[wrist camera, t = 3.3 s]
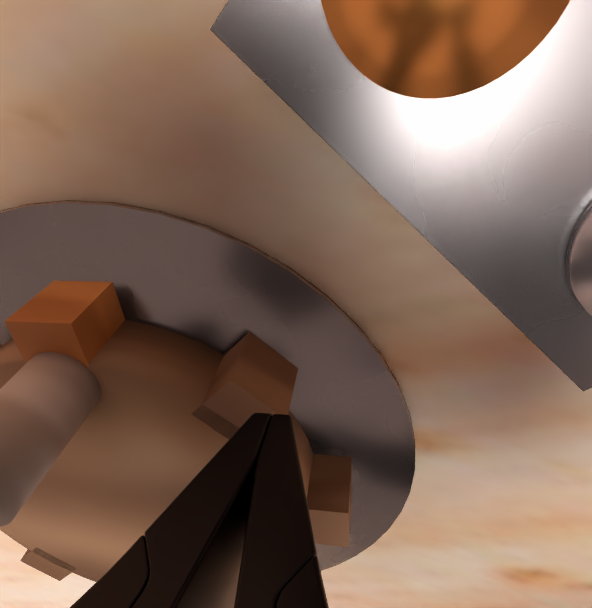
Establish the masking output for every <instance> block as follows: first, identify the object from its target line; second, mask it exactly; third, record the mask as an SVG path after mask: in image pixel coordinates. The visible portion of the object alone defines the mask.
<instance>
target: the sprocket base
mask: <svg viewBox="0 0 592 608" xmlns="http://www.w3.org/2000/svg"><path fill="white" fill-rule="evenodd" d="M53 281H103V282H113V285H114V288H115V291H116V294H117V297H118V300H119V303H120V306H121V309H122V312H123V315H124V318H125V320H129V321H134V322H139V323H144V324H149V325H152V326H156V327H159V328H162V329H165V330H169V331H172V332H175V333H178V334H180V335H183V336H185V337H188V338H190V339H192V340H195V341H197V342H200V343H202V344H204V345H206V346H208V347H210V348H212V349H213V350H215V351H217V352H219V353H221V354H223V355H225V354H226V353H227V352H228V351H229V350H230V349H231V348H232V347H234V346H235V345H236V344H237V343H238V342H239V341H240V340H241V339H242V338H243V337H244V336H246V335H247V334H248V333H249V332H250V331H251V332H252V333H253V334H254V335H256V336H257V337H258V338H260V339H261V340H262V341H264V342H265V343H266V344H267V345H269V346H270V347H271V348H273V349H274V350H275V351H276V352H278V353H279V354H280V355H282V356H283V357H284V358H286V359H287V360H288V361H289V362H291V363H292V364H293V365H295V366H296V367H297V368H298V372H297V376H296V381H295V385H294V390H293V394H292V399H291V403H290V408H289V410H290V411H291V413H292V414H293V415H294V417H295V418H296V419H297V421H298V422H299V424H300V426H301V427H302V429H303V431H304V433H305V435H306V436H307V438H308V441H309V443H310V446H311V449H312V452H313V454H322V455H335V456H347V457H352V498H351V517H350V536H349V547H340V546H331V545H322V544H315V545H316V550H317V557H318V560H319V565H320V570H324V569H327V568H330V567H333V566H335V565H338V564H340V563H342V562H344V561H346V560H348V559H350V558H352V557H354V556H356V555H357V554H359V553H360V552H362V551H363V550H365V549H366V548H368V547H369V546H371V545H372V544H373V543H374V542H376V541H377V540H378V539H379V538H380V537H381V536H382V535H383V534H384V533H385V532H386V531H387V530H388V529H389V528H390V526H391V525H392V524H393V522H394V521H395V519H396V518H397V517H398V515H399V514H400V512H401V511H402V508H403V506H404V504H405V502H406V500H407V497H408V495H409V493H410V489H411V485H412V480H413V476H414V471H415V439H414V434H413V429H412V424H411V418H410V413H409V410H408V408H407V405H406V403H405V400H404V397H403V395H402V392H401V390H400V387H399V384H398V383H397V381H396V379H395V378H394V376H393V374H392V372H391V371H390V369H389V367H388V366H387V364H386V362H385V360H384V359H383V357H382V355H381V354H380V353H379V351H378V350H377V349H376V348H375V346H374V345H373V344H372V343H371V341H370V340H369V339H368V338H367V336H366V335H365V334H364V333H363V331H362V330H361V329H360V328H359V326H358V325H357V324H356V323H355V322H354V321H353V320H352V319H351V318H350V317H349V316H348V315H347V314H346V313H344V312H343V311H342V310H341V309H340V308H339V307H338V306H337V305H336V304H335V303H334V302H333V301H332V300H331V299H330V298H329V297H328V296H327V295H325V294H324V293H323V292H321V291H320V290H319V289H317V288H316V287H315V286H313V285H312V284H311V283H309V282H308V281H307V280H305V279H304V278H303V277H301V276H300V275H299V274H297V273H296V272H295V271H293V270H292V269H291V268H289V267H287V266H285V265H284V264H282V263H280V262H279V261H277V260H275V259H273V258H272V257H270V256H268V255H266V254H265V253H263V252H261V251H260V250H258V249H256V248H254V247H253V246H251V245H249V244H247V243H244V242H242V241H240V240H238V239H235V238H233V237H231V236H229V235H226V234H224V233H222V232H219V231H217V230H215V229H213V228H210V227H208V226H206V225H202V224H199V223H196V222H193V221H189V220H186V219H183V218H180V217H176V216H173V215H170V214H167V213H164V212H160V211H155V210H150V209H144V208H139V207H133V206H128V205H122V204H117V203H106V202H87V201H59V202H48V203H37V204H28V205H24V206H20V207H16V208H12V209H8V210H4V211H0V344H1V345H4V344H5V343H6V342H7V341H9V340H10V339H11V338H12V335H11V333H10V332H9V330H8V328H7V326H6V324H5V322H4V321H5V320H6V319H8V318H9V317H10V316H11V315H13V314H14V313H15V312H16V311H17V310H19V309H20V308H21V307H22V306H23V305H25V304H26V303H27V302H28V301H30V300H31V299H32V298H33V297H34V296H36V295H37V294H38V293H39V292H41V291H42V290H43V289H44V288H45V287H47V286H48V285H49V284H50V283H51V282H53Z"/></svg>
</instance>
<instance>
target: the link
mask: <svg viewBox="0 0 592 608" xmlns="http://www.w3.org/2000/svg"><path fill="white" fill-rule="evenodd" d="M210 30H211V31H212V32H213V33H214V34H215V35H216V36H217V37H218V38H219V39H220V40H221V41H222V42H223V43H225V44H226V45H227V46H228V47H229V48H230V49H231V50H232V51H233V52H234V53H235V54H236V55H237V56H238V57H239V58H240V59H241V60H242V61H243V62H244V63H245V64H246V65H247V66H248V67H249V68H250V69H251V70H252V71H253V72H254V73H255V74H256V75H258V76H259V77H260V78H261V79H262V80H263V81H264V82H265V83H266V84H267V85H268V86H269V87H270V88H271V89H272V90H273V91H274V92H275V93H276V94H277V95H278V96H279V97H280V98H281V99H282V100H283V101H284V102H285V103H286V104H287V105H288V106H290V107H291V108H292V109H293V110H294V111H295V112H296V113H297V114H298V115H299V116H300V117H301V118H302V119H303V120H304V121H305V122H306V123H307V124H308V125H309V126H310V127H311V128H312V129H313V130H314V131H315V132H316V133H317V134H318V135H319V136H320V137H321V138H323V139H324V140H325V141H326V142H327V143H328V144H329V145H330V146H331V147H332V148H333V149H334V150H335V151H336V152H337V153H338V154H339V155H340V156H341V157H342V158H343V159H344V160H345V161H346V162H347V163H348V164H349V165H350V166H351V167H352V168H353V169H354V170H356V171H357V172H358V173H359V174H360V175H361V176H362V177H363V178H364V179H365V180H366V181H367V182H368V183H369V184H370V185H371V186H372V187H373V188H374V189H375V190H376V191H377V192H378V193H379V194H380V195H381V196H382V197H383V198H384V199H385V200H386V201H388V202H389V203H390V204H391V205H392V206H393V207H394V208H395V209H396V210H397V211H398V212H399V213H400V214H401V215H402V216H403V217H404V218H405V219H406V220H407V221H408V222H409V223H410V224H411V225H412V226H413V227H414V228H415V229H416V230H417V231H418V232H419V233H421V234H422V235H423V236H424V237H425V238H426V239H427V240H428V241H429V242H430V243H431V244H432V245H433V246H434V247H435V248H436V249H437V250H438V251H439V252H440V253H441V254H442V255H443V256H444V257H445V258H446V259H447V260H448V261H449V262H450V263H451V264H452V265H454V266H455V267H456V268H457V269H458V270H459V271H460V272H461V273H462V274H463V275H464V276H465V277H466V278H467V279H468V280H469V281H470V282H471V283H472V284H473V285H474V286H475V287H476V288H477V289H478V290H479V291H480V292H481V293H482V294H483V295H484V296H486V297H487V298H488V299H489V300H490V301H491V302H492V303H493V304H494V305H495V306H496V307H497V308H498V309H499V310H500V311H501V312H502V313H503V314H504V315H505V316H506V317H507V318H508V319H509V320H510V321H511V322H512V323H513V324H514V325H515V326H516V327H517V328H519V329H520V330H521V331H522V332H523V333H524V334H525V335H526V336H527V337H528V338H529V339H530V340H531V341H532V342H533V343H534V344H535V345H536V346H537V347H538V348H539V349H540V350H541V351H542V352H543V353H544V354H545V355H546V356H547V357H548V358H549V359H550V360H552V361H553V362H554V363H555V364H556V365H557V366H558V367H559V368H560V369H561V370H562V371H563V372H564V373H565V374H566V375H567V376H568V377H569V378H570V379H571V380H572V381H573V382H574V383H575V384H576V385H577V386H578V387H579V388H580V389H581V390H582V391H586V390H588V389H590V388H592V0H229V1H228V2H227V4H226V5H225V7H224V9H223V10H222V12H221V13H220V15H219V16H218V18H217V20H216V21H215V23H214V24H213V26H212V28H211V29H210Z"/></svg>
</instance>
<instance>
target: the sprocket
mask: <svg viewBox="0 0 592 608" xmlns="http://www.w3.org/2000/svg"><path fill="white" fill-rule="evenodd" d="M4 322H5V324H6V326H7V328H8V330H9V332H10V333H11V335H12V338H11V339H10V340H9V341H7V342H6V343H5V344H4V345H1V344H0V530H1V531H3V532H4V533H5V534H7V535H8V536H9V537H11V538H12V539H14V540H15V541H16V542H18V543H19V544H21V545H23V546H24V547H26V548H27V549H28V550H27V552H26V553H25V555H24V556H23V558H22V559H21V561H22V562H24V563H26V564H27V565H29V566H31V567H33V568H35V569H37V570H39V571H41V572H43V573H45V574H47V575H49V576H51V577H53V578H55V579H57V580H59V581H60V580H62V579H63V578H64V577H66V576H67V575H69V574H70V573H71V572H73V573H75V574H77V575H80V576H82V577H85V578H87V579H90V580H92V581H95V582H97V581H98V580H100V579H101V578H102V577H103V576H104V575H105V574H106V573H107V572H108V571H109V570H110V569H111V567H112V566H113V565H114V564H115V563H116V562H117V561H118V560H119V559H120V558H121V557H122V556H123V555H124V554H125V553H126V552H127V551H128V550H129V549H130V547H131V546H132V545H133V544H134V543H135V542H136V541H137V540H138V539H139V538H140V536H142V535H144V533H145V531H146V530H147V529H148V528H149V527H150V526H151V525H152V524H153V522H154V521H155V520H156V519H157V518H158V517H159V516H160V515H161V514H162V513H163V512H164V510H165V509H166V508H167V507H168V506H169V505H170V504H171V503H172V502H173V501H174V499H175V498H176V497H177V496H178V495H179V494H180V493H181V492H182V491H183V490H184V489H185V487H186V486H187V485H188V484H189V483H190V482H191V481H192V480H193V479H194V478H195V476H196V475H197V474H198V473H199V472H200V471H201V470H202V469H203V468H204V467H205V465H206V464H207V463H208V462H209V461H210V460H211V459H212V458H213V457H214V456H215V455H216V453H217V452H218V451H219V450H220V449H221V448H222V447H223V446H224V445H225V444H226V442H227V441H228V440H229V439H230V438H231V437H232V436H233V435H234V434H235V433H236V432H237V430H238V429H239V428H240V427H241V426H242V425H243V424H244V423H245V422H246V421H247V419H248V418H249V417H250V416H251V415H252V414H254V413H270V414H272V416H273V415H274V414H287V415H290V416H291V418H292V423H293V428H294V433H295V438H296V444H297V449H298V454H299V460H300V465H301V470H302V476H303V481H304V486H305V492H306V497H307V502H308V508H309V513H310V518H311V524H312V529H313V534H314V540H315V544H322V545H331V546H340V547H349V536H350V517H351V498H352V457H347V456H335V455H322V454H313V452H312V449H311V446H310V443H309V441H308V438H307V436H306V435H305V433H304V431H303V429H302V427H301V426H300V424H299V422H298V421H297V419H296V418H295V417H294V415H293V414H292V413H291V411H290V410H289V408H290V403H291V399H292V394H293V390H294V385H295V381H296V376H297V372H298V368H297V367H296V366H295V365H293V364H292V363H291V362H289V361H288V360H287V359H286V358H284V357H283V356H282V355H280V354H279V353H278V352H276V351H275V350H274V349H273V348H271V347H270V346H269V345H267V344H266V343H265V342H264V341H262V340H261V339H260V338H258V337H257V336H256V335H254V334H253V333H252V332H251V331H250V332H249V333H248V334H247V335H246V336H244V337H243V338H242V339H241V340H240V341H239V342H238V343H237V344H236V345H235V346H234V347H232V348H231V349H230V350H229V351H228V352H227V353H226V354H225V355H223V354H221V353H219V352H217V351H215V350H213V349H212V348H210V347H208V346H206V345H204V344H202V343H200V342H197V341H195V340H192V339H190V338H188V337H185V336H183V335H180V334H178V333H175V332H172V331H169V330H165V329H162V328H159V327H156V326H152V325H149V324H144V323H139V322H134V321H129V320H125V318H124V315H123V312H122V309H121V306H120V303H119V300H118V297H117V294H116V291H115V288H114V285H113V282H103V281H53V282H51V283H50V284H49V285H48V286H47V287H45V288H44V289H43V290H42V291H41V292H39V293H38V294H37V295H36V296H34V297H33V298H32V299H31V300H30V301H28V302H27V303H26V304H25V305H23V306H22V307H21V308H20V309H19V310H17V311H16V312H15V313H14V314H13V315H11V316H10V317H9V318H8V319H6V320H5V321H4ZM144 536H145V535H144Z"/></svg>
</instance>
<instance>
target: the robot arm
mask: <svg viewBox="0 0 592 608" xmlns="http://www.w3.org/2000/svg"><path fill="white" fill-rule="evenodd" d="M144 535H145V536H144ZM144 535H142V536H140V538H139V539H138V540H137V541H136V542H135V543H134V544H133V545H132V546H131V547H130V549H129V550H128V551H127V552H126V553H125V554H124V555H123V556H122V557H121V558H120V559H119V560H118V561H117V562H116V563H115V564H114V565H113V566H112V567H111V569H110V570H109V571H108V572H107V573H106V574H105V575H104V576H103V577H102V578H101V579H100V580H98V581H97V582H96V583H95V584H94V585H93V586H92V587H91V588H90V589H89V590H88V591H87V592H86V593H85V594H84V595H83V596H82V597H81V598H80V599H79V600H78V601H76V602H75V603H74V604H73V605H72V606H71V607H70V608H329V607H328V603H327V598H326V594H325V589H324V585H323V580H322V576H321V570H320V565H319V560H318V557H317V550H316V545H315V540H314V534H313V529H312V524H311V518H310V513H309V508H308V502H307V497H306V492H305V486H304V481H303V476H302V470H301V465H300V460H299V454H298V449H297V444H296V438H295V433H294V428H293V423H292V418H291V416H290V415H287V414H274V415H273V416H272V414H270V413H254V414H252V415H251V416H250V417H249V418H248V419H247V421H246V422H245V423H244V424H243V425H242V426H241V427H240V428H239V429H238V430H237V432H236V433H235V434H234V435H233V436H232V437H231V438H230V439H229V440H228V441H227V442H226V444H225V445H224V446H223V447H222V448H221V449H220V450H219V451H218V452H217V453H216V455H215V456H214V457H213V458H212V459H211V460H210V461H209V462H208V463H207V464H206V465H205V467H204V468H203V469H202V470H201V471H200V472H199V473H198V474H197V475H196V476H195V478H194V479H193V480H192V481H191V482H190V483H189V484H188V485H187V486H186V487H185V489H184V490H183V491H182V492H181V493H180V494H179V495H178V496H177V497H176V498H175V499H174V501H173V502H172V503H171V504H170V505H169V506H168V507H167V508H166V509H165V510H164V512H163V513H162V514H161V515H160V516H159V517H158V518H157V519H156V520H155V521H154V522H153V524H152V525H151V526H150V527H149V528H148V529H147V530H146V531H145V533H144Z"/></svg>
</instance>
